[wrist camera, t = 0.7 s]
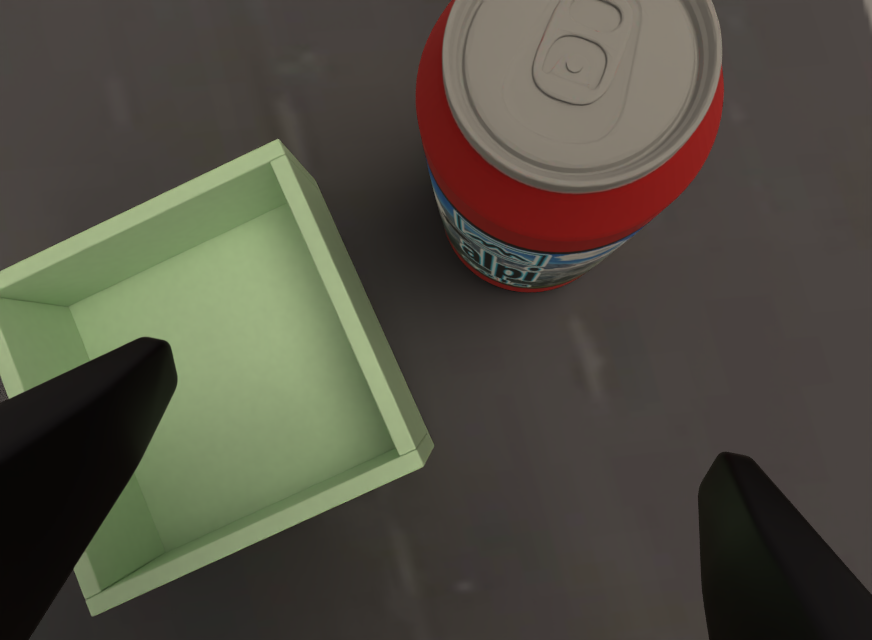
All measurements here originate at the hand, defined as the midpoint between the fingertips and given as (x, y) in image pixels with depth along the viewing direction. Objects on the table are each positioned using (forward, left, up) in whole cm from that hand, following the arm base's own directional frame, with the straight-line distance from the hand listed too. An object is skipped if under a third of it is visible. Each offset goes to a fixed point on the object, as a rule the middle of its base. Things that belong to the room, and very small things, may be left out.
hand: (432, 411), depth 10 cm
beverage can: (+5, -5, -14) cm, 15 cm away
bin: (+4, +8, -13) cm, 16 cm away
